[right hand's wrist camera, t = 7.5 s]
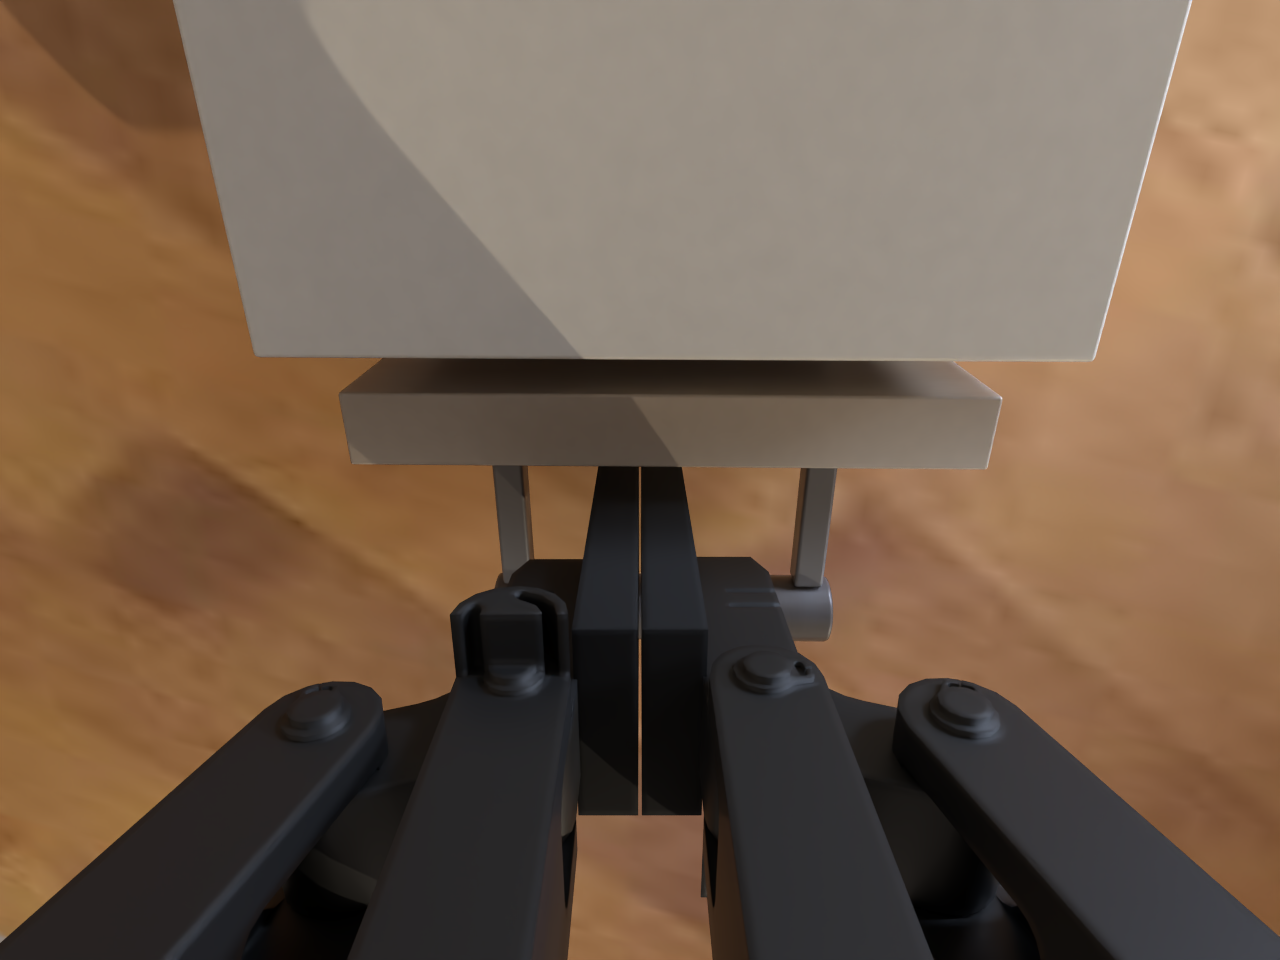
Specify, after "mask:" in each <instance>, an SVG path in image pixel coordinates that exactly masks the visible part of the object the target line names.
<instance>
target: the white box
mask: <svg viewBox="0 0 1280 960" xmlns="http://www.w3.org/2000/svg"><path fill="white" fill-rule="evenodd" d="M173 3H174V8H175V12H176V16H177V21H178V25H179V29H180V34H181V38H182V42H183V47H184V51H185V55H186V60H187V64H188V68H189V73H190V77H191V81H192V86H193V90H194V95H195V99H196V103H197V108H198V112H199V116H200V121H201V125H202V129H203V134H204V138H205V142H206V147H207V151H208V155H209V160H210V164H211V168H212V173H213V177H214V181H215V186H216V190H217V194H218V199H219V203H220V207H221V212H222V216H223V220H224V225H225V229H226V234H227V238H228V242H229V247H230V251H231V255H232V260H233V264H234V268H235V273H236V277H237V281H238V286H239V290H240V294H241V299H242V303H243V307H244V312H245V316H246V320H247V325H248V329H249V333H250V338H251V342H252V346H253V351H254V354H255V356H258V357H300V358H477V359H653V360H829V361H1005V362H1090V361H1093V360H1094V358H1095V355H1096V352H1097V348H1098V344H1099V341H1100V337H1101V333H1102V330H1103V326H1104V322H1105V319H1106V315H1107V311H1108V308H1109V304H1110V300H1111V297H1112V293H1113V289H1114V285H1115V282H1116V278H1117V274H1118V271H1119V267H1120V263H1121V260H1122V256H1123V252H1124V249H1125V245H1126V241H1127V238H1128V234H1129V230H1130V227H1131V223H1132V219H1133V216H1134V212H1135V208H1136V205H1137V201H1138V197H1139V194H1140V190H1141V186H1142V183H1143V179H1144V175H1145V172H1146V168H1147V164H1148V161H1149V157H1150V153H1151V150H1152V146H1153V142H1154V139H1155V135H1156V131H1157V128H1158V124H1159V120H1160V116H1161V113H1162V109H1163V105H1164V102H1165V98H1166V94H1167V91H1168V87H1169V83H1170V80H1171V76H1172V72H1173V69H1174V65H1175V61H1176V58H1177V54H1178V50H1179V47H1180V43H1181V39H1182V36H1183V32H1184V28H1185V25H1186V21H1187V17H1188V14H1189V10H1190V6H1191V3H1192V0H173Z"/></svg>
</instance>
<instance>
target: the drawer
mask: <svg viewBox="0 0 1280 960" xmlns="http://www.w3.org/2000/svg"><path fill="white" fill-rule="evenodd" d="M339 400H340V405H341V410H342V416H343V421H344V427H345V432H346V438H347V443H348V448H349V454H350V459H351V463H352V464H396V465H492V466H493V476H494V487H495V498H496V508H497V519H498V530H499V540H500V551H501V561H502V572H503V573H500V574H499V576H498V578H497V581H496V584H495V588H503V587H507V586H508V583H509V580H510V578H511V575H512V574H513V573H514V572H515V571H516V570H517V569H519V568H520V567H521V566H522V565H523V564H525V563H526V562H527V561H528V560H530V559H534V549H533V536H532V522H531V508H530V494H529V480H528V466H633V467H751V468H801V472H800V481H799V491H798V501H797V510H796V520H795V530H794V539H793V549H792V559H791V569H790V573H791V575H770V578H771V580H772V583H773V586H774V589H775V592H776V594H777V597H778V600H779V603H780V607H781V608H782V611H783V614H784V616H785V619H786V622H787V625H788V628H789V630H790V633H791V636H792V639H793V641H826V640H828V638H829V636H830V633H831V629H832V622H833V602H832V594H831V589H830V586H829V583H828V580H827V579H826V577H824V569H825V561H826V553H827V545H828V537H829V529H830V521H831V513H832V505H833V497H834V489H835V481H836V474H837V468H870V469H987V467H988V462H989V458H990V453H991V449H992V444H993V440H994V435H995V431H996V426H997V422H998V417H999V413H1000V408H1001V404H1002V397H1001V396H1000V395H998V394H997V393H996V392H994V391H993V390H992V389H990V388H989V387H987V386H986V385H985V384H983V383H982V382H981V381H979V380H978V379H977V378H975V377H974V376H972V375H971V374H970V373H968V372H967V371H966V370H964V369H963V368H962V367H960V366H959V365H958V364H956V363H955V362H953V361H829V360H653V359H477V358H383V359H381V360H380V361H379V362H378V363H376V364H375V365H374V366H373V367H371V368H370V369H369V370H368V371H366V372H365V373H364V374H362V375H361V376H360V377H359V378H357V379H356V380H355V381H354V382H352V383H351V384H350V385H348V386H347V387H346V388H345V389H343V390H342V391H341V392H340V393H339ZM639 639H641V574H639Z"/></svg>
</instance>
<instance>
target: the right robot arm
mask: <svg viewBox="0 0 1280 960" xmlns="http://www.w3.org/2000/svg"><path fill="white" fill-rule="evenodd" d="M450 621H451V630H452V640H453V650H454V659H455V669H456V679H455V682H454V684H453V687H452V690H451V692H450V693H448V694H445V695H443V696H441V697H439V698H436V699H433V700H430V701H426V702H422V703H419V704H415V705H410V706H405V707H400V708H395V709H391V710H386V711H383V706H382V699H381V697H380V696H379V695H378V694H377V693H376V692H375V691H374V690H373V689H372V688H371V687H368V686H365V685H362V684H359V683H356V682H333V681H332V682H327V683H322V684H315V685H311V686H307V687H305V688H302V689H300V690H298V691H295V692H293V693H290V694H288V695H285V696H283V697H282V698H280V699H279V700H277V701H276V702H275V703H273V704H272V705H270V706H269V707H267V708H266V709H264V710H263V711H262V712H261V713H260V714H259V715H257V716H256V717H255V718H254V719H253V720H252V721H251V722H250V723H248V724H247V725H246V726H245V727H244V728H243V729H242V730H241V731H239V732H238V733H237V734H236V735H235V736H234V737H233V738H231V739H230V740H229V741H228V742H227V743H226V744H225V745H224V746H222V747H221V748H220V749H219V750H218V751H217V752H216V753H215V754H213V755H212V756H211V757H210V758H209V759H208V760H207V761H205V762H204V763H203V764H202V765H201V766H200V767H199V768H198V769H196V770H195V771H194V772H193V773H192V774H191V775H190V776H189V777H187V778H186V779H185V780H184V781H183V782H182V783H181V784H179V785H178V786H177V787H176V788H175V789H174V790H173V791H172V792H170V793H169V794H168V795H167V796H166V797H165V798H164V799H163V800H161V801H160V802H159V803H158V804H157V805H156V806H155V807H153V808H152V809H151V810H150V811H149V812H148V813H147V814H146V815H144V816H143V817H142V818H141V819H140V820H139V821H138V822H137V823H135V824H134V825H133V826H132V827H131V828H130V829H129V830H128V831H126V832H125V833H124V834H123V835H122V836H121V837H120V838H118V839H117V840H116V841H115V842H114V843H113V844H112V845H111V846H109V847H108V848H107V849H106V850H105V851H104V852H103V853H102V854H100V855H99V856H98V857H97V858H96V859H95V860H94V861H92V862H91V863H90V864H89V865H88V866H87V867H86V868H85V869H83V870H82V871H81V872H80V873H79V874H78V875H77V876H76V877H74V878H73V879H72V880H71V881H70V882H69V883H68V884H66V885H65V886H64V887H63V888H62V889H61V890H60V891H59V892H57V893H56V894H55V895H54V896H53V897H52V898H51V899H50V900H48V901H47V902H46V903H45V904H44V905H43V906H42V907H40V908H39V909H38V910H37V911H36V912H35V913H34V914H33V915H31V916H30V917H29V918H28V919H27V920H26V921H25V922H24V923H22V924H21V925H20V926H19V927H18V928H17V929H16V930H15V931H13V932H12V933H11V934H10V935H9V936H8V937H7V938H5V939H4V940H3V941H2V942H1V943H0V960H567V958H568V947H569V936H570V925H571V914H572V903H573V892H574V881H575V870H576V859H577V830H576V814H577V804H578V814H579V815H638V667H639V467H633V466H598V472H597V478H596V485H595V491H594V497H593V503H592V509H591V515H590V521H589V527H588V533H587V539H586V545H585V551H584V557H583V559H530V560H528V561H527V562H526V563H525V564H523V565H522V566H521V567H520V568H519V569H517V570H516V571H515V572H514V573H513V574H512V575H511V578H510V580H509V583H508V586H507V587H503V588H495V589H492V590H488V591H485V592H481V593H478V594H475V595H473V596H472V597H470V598H468V599H466V600H465V601H463V602H461V603H459V605H458V606H457V607H456V608H455V609H454V610H453V612H452V613H451V614H450ZM641 670H642V815H701V813H702V801H703V810H704V830H703V856H702V881H701V897H707V902H708V913H709V924H710V935H711V946H712V957H713V960H1280V937H1279V936H1278V935H1277V934H1276V933H1274V932H1273V931H1272V930H1271V929H1270V928H1269V927H1268V926H1266V925H1265V924H1264V923H1263V922H1262V921H1261V920H1260V919H1258V918H1257V917H1256V916H1255V915H1254V914H1253V913H1252V912H1250V911H1249V910H1248V909H1247V908H1246V907H1245V906H1244V905H1242V904H1241V903H1240V902H1239V901H1238V900H1237V899H1236V898H1235V897H1233V896H1232V895H1231V894H1230V893H1229V892H1228V891H1227V890H1225V889H1224V888H1223V887H1222V886H1221V885H1220V884H1219V883H1217V882H1216V881H1215V880H1214V879H1213V878H1212V877H1211V876H1209V875H1208V874H1207V873H1206V872H1205V871H1204V870H1203V869H1201V868H1200V867H1199V866H1198V865H1197V864H1196V863H1195V862H1193V861H1192V860H1191V859H1190V858H1189V857H1188V856H1187V855H1186V854H1184V853H1183V852H1182V851H1181V850H1180V849H1179V848H1178V847H1176V846H1175V845H1174V844H1173V843H1172V842H1171V841H1170V840H1168V839H1167V838H1166V837H1165V836H1164V835H1163V834H1162V833H1160V832H1159V831H1158V830H1157V829H1156V828H1155V827H1154V826H1152V825H1151V824H1150V823H1149V822H1148V821H1147V820H1146V819H1145V818H1143V817H1142V816H1141V815H1140V814H1139V813H1138V812H1137V811H1135V810H1134V809H1133V808H1132V807H1131V806H1130V805H1129V804H1127V803H1126V802H1125V801H1124V800H1123V799H1122V798H1121V797H1119V796H1118V795H1117V794H1116V793H1115V792H1114V791H1113V790H1111V789H1110V788H1109V787H1108V786H1107V785H1106V784H1105V783H1103V782H1102V781H1101V780H1100V779H1099V778H1098V777H1097V776H1096V775H1094V774H1093V773H1092V772H1091V771H1090V770H1089V769H1088V768H1086V767H1085V766H1084V765H1083V764H1082V763H1081V762H1080V761H1078V760H1077V759H1076V758H1075V757H1074V756H1073V755H1072V754H1070V753H1069V752H1068V751H1067V750H1066V749H1065V748H1064V747H1062V746H1061V745H1060V744H1059V743H1058V742H1057V741H1056V740H1055V739H1053V738H1052V737H1051V736H1050V735H1049V734H1048V733H1047V732H1045V731H1044V730H1043V729H1042V728H1041V727H1040V726H1039V725H1037V724H1036V723H1035V722H1034V721H1033V720H1032V719H1031V718H1029V717H1028V716H1027V715H1026V714H1025V713H1024V712H1023V711H1021V710H1020V709H1019V708H1018V707H1017V706H1016V705H1014V704H1013V703H1011V702H1010V701H1008V700H1007V699H1005V698H1004V697H1002V696H1001V695H999V694H998V693H996V692H994V691H991V690H989V689H986V688H984V687H981V686H979V685H976V684H974V683H971V682H967V681H963V680H962V681H960V680H956V679H949V678H938V679H924V680H921V681H918V682H915V683H912V684H909V685H908V686H907V687H906V688H905V689H904V690H903V691H902V692H901V693H900V695H899V699H898V706H897V708H895V707H890V706H885V705H880V704H876V703H871V702H866V701H861V700H858V699H854V698H851V697H847V696H844V695H842V694H839V693H837V692H835V691H833V690H830V689H828V686H827V683H826V681H825V678H824V676H823V675H822V673H821V672H820V670H819V669H818V668H817V666H816V665H815V664H814V663H813V662H811V661H810V660H808V659H807V658H805V657H804V656H802V655H801V654H799V653H797V650H796V647H795V644H794V641H793V639H792V636H791V633H790V630H789V628H788V625H787V622H786V619H785V616H784V614H783V611H782V608H781V607H780V603H779V600H778V597H777V594H776V592H775V589H774V586H773V583H772V580H771V578H770V575H769V572H768V571H767V570H766V569H764V568H763V567H762V566H761V565H760V564H758V563H757V562H756V561H755V560H753V559H752V558H751V557H696V551H695V545H694V539H693V533H692V527H691V521H690V515H689V509H688V503H687V497H686V491H685V485H684V479H683V473H682V467H641Z"/></svg>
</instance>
